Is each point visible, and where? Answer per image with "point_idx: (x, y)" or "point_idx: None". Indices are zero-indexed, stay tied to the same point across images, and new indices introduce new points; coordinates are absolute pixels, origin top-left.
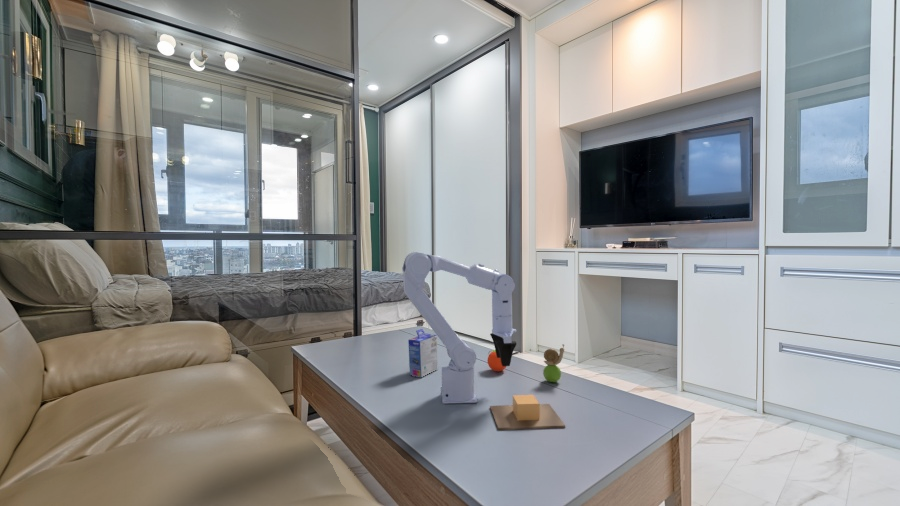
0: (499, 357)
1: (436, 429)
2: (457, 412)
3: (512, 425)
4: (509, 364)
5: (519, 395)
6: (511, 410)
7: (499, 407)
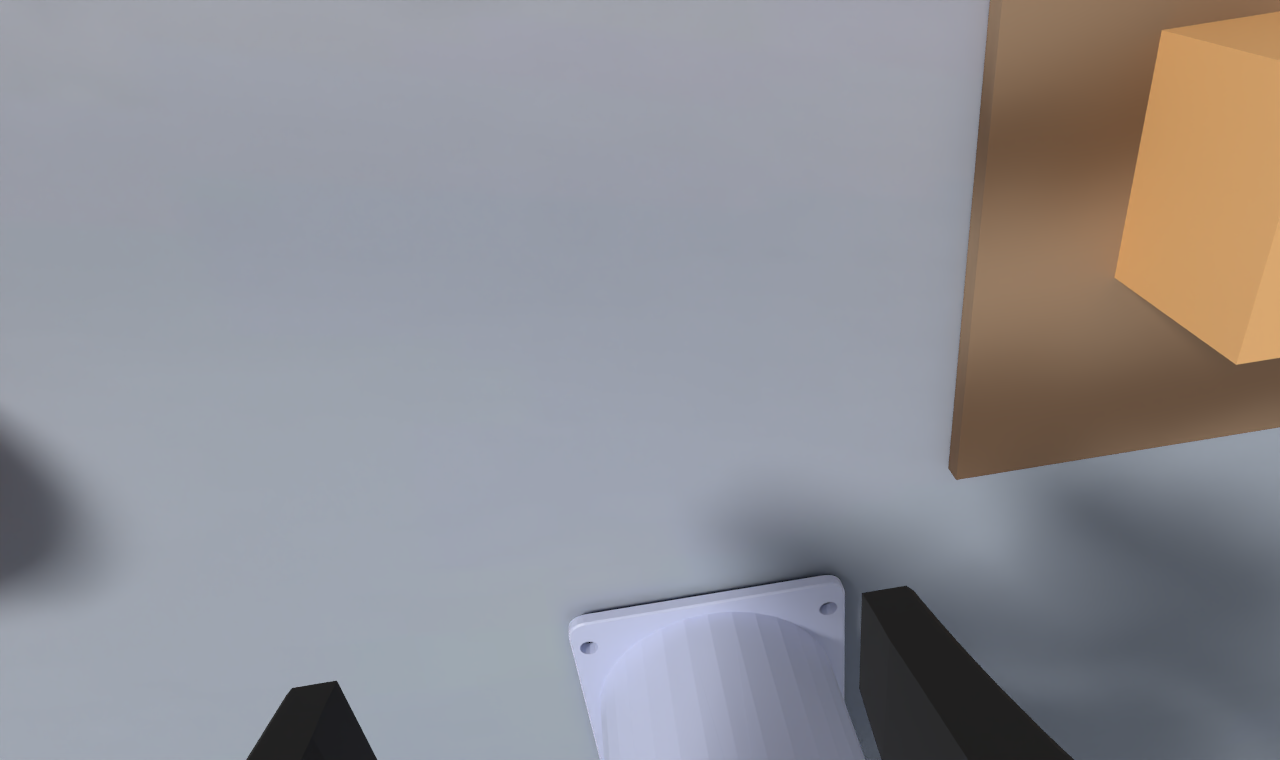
0: (367, 750)
1: (1204, 732)
2: (990, 669)
3: None
4: (924, 611)
5: (1270, 281)
6: (1107, 290)
7: (1007, 400)
